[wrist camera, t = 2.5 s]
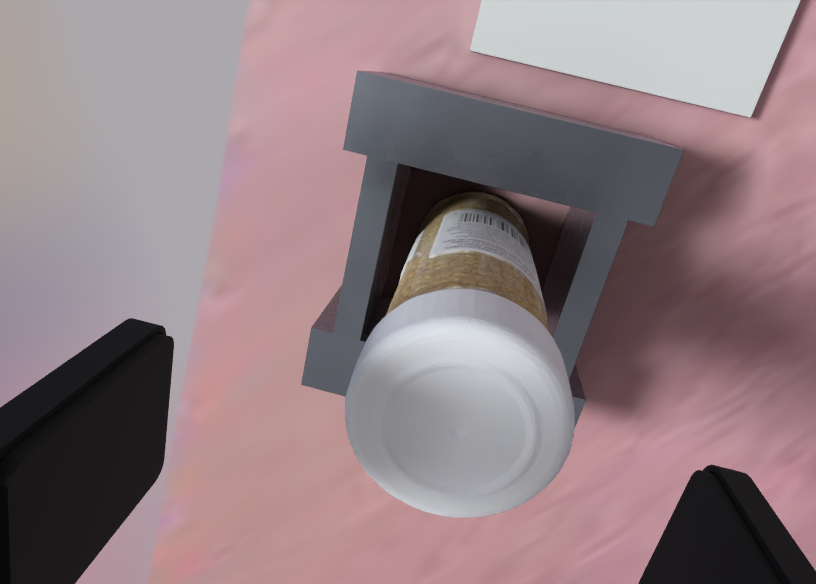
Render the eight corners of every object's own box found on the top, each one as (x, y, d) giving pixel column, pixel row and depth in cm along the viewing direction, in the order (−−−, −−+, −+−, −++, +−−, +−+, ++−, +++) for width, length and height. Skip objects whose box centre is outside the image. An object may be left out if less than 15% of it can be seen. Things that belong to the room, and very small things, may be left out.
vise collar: (646, 135, 21) (684, 149, 17) (552, 393, 25) (564, 455, 21) (382, 72, 22) (357, 70, 18) (331, 335, 26) (301, 384, 22)
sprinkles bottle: (395, 246, 24) (292, 428, 12) (472, 164, 23) (448, 271, 10) (476, 318, 25) (461, 564, 12) (555, 242, 23) (632, 436, 11)
